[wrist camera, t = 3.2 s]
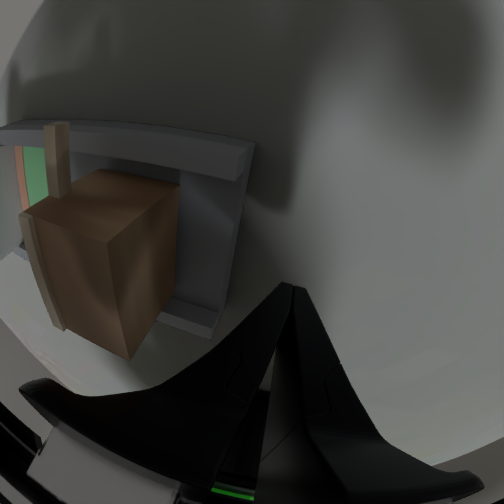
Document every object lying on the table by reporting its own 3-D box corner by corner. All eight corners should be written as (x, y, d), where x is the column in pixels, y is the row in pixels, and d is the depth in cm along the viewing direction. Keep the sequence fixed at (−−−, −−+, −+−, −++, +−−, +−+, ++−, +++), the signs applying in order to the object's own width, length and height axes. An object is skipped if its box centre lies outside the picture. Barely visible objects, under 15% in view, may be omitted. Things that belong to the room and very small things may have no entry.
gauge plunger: (187, 117, 8) (95, 145, 4) (175, 290, 12) (127, 365, 8) (101, 110, 8) (7, 138, 5) (108, 266, 12) (53, 325, 9)
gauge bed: (255, 142, 9) (211, 177, 6) (224, 307, 14) (193, 379, 10) (21, 120, 10) (-39, 143, 7) (35, 236, 15) (-9, 271, 11)
